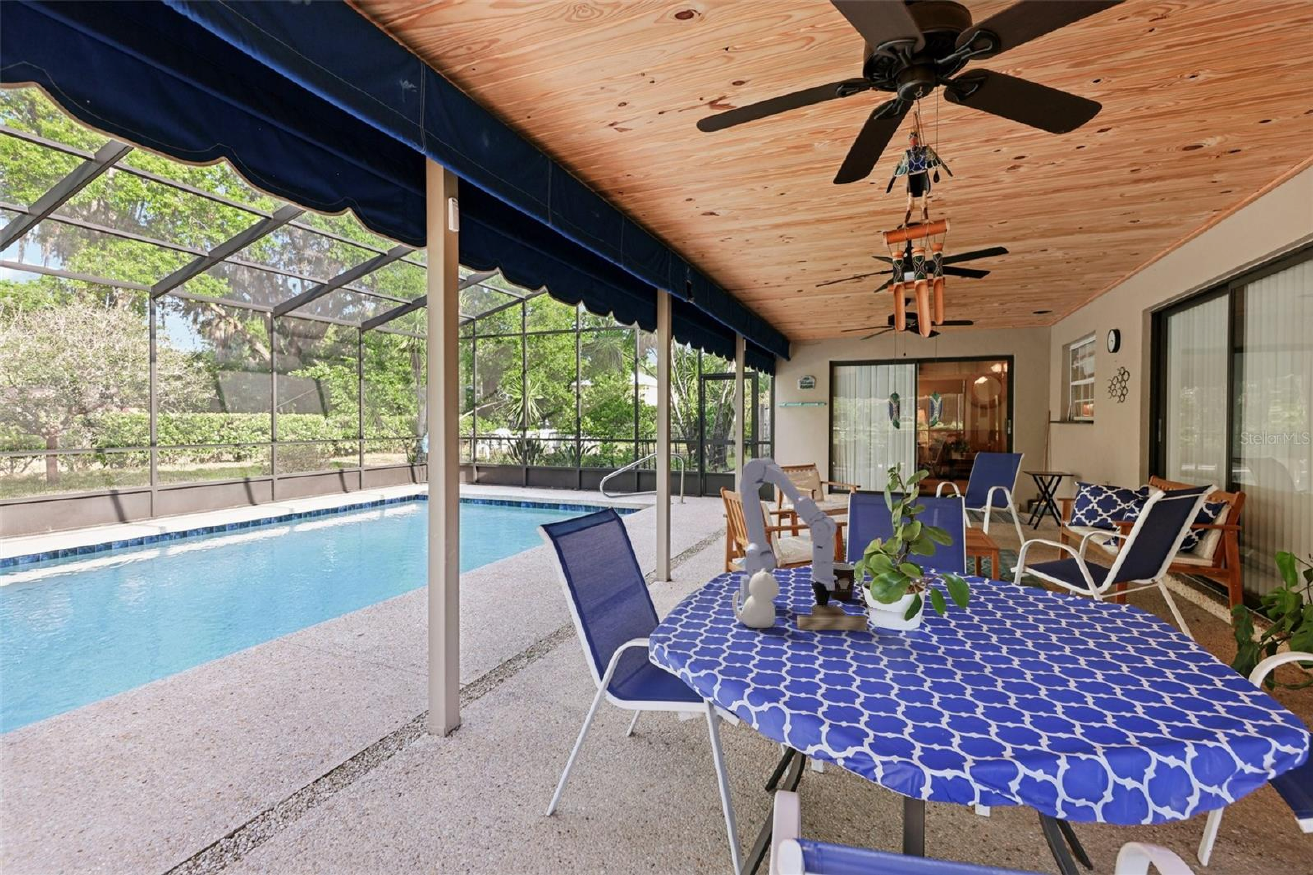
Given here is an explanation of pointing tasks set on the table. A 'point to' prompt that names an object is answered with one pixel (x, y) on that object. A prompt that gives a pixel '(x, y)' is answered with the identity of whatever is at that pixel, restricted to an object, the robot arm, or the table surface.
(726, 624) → the table surface
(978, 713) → the table surface
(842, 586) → the coffee mug
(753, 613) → the cat figurine
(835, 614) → the walnut block
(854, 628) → the board
